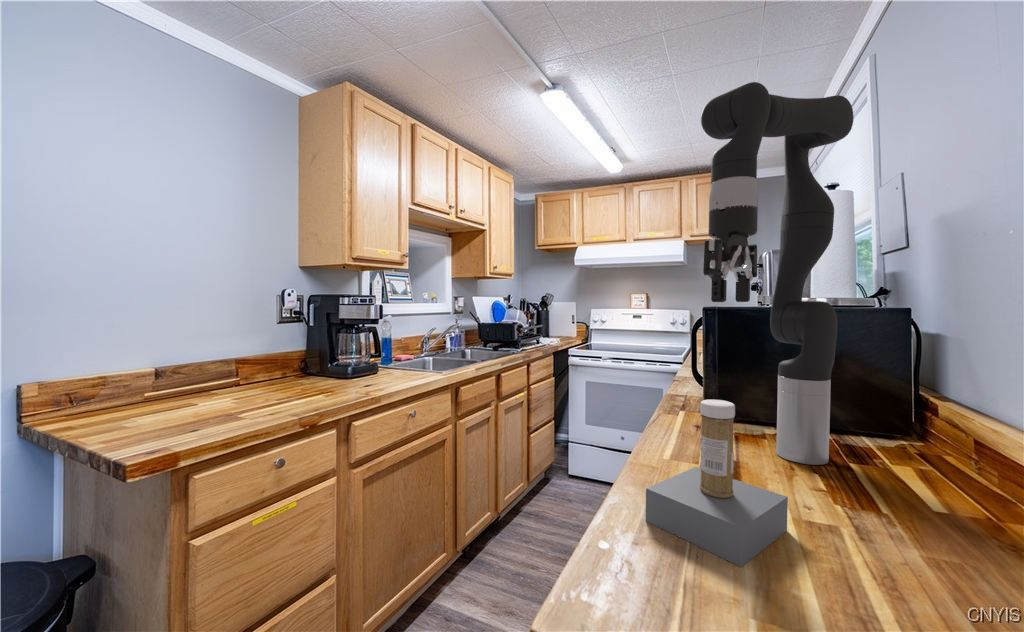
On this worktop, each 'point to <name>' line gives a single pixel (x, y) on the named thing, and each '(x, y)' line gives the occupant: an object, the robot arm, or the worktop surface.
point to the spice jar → (717, 448)
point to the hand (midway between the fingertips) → (730, 302)
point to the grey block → (718, 516)
